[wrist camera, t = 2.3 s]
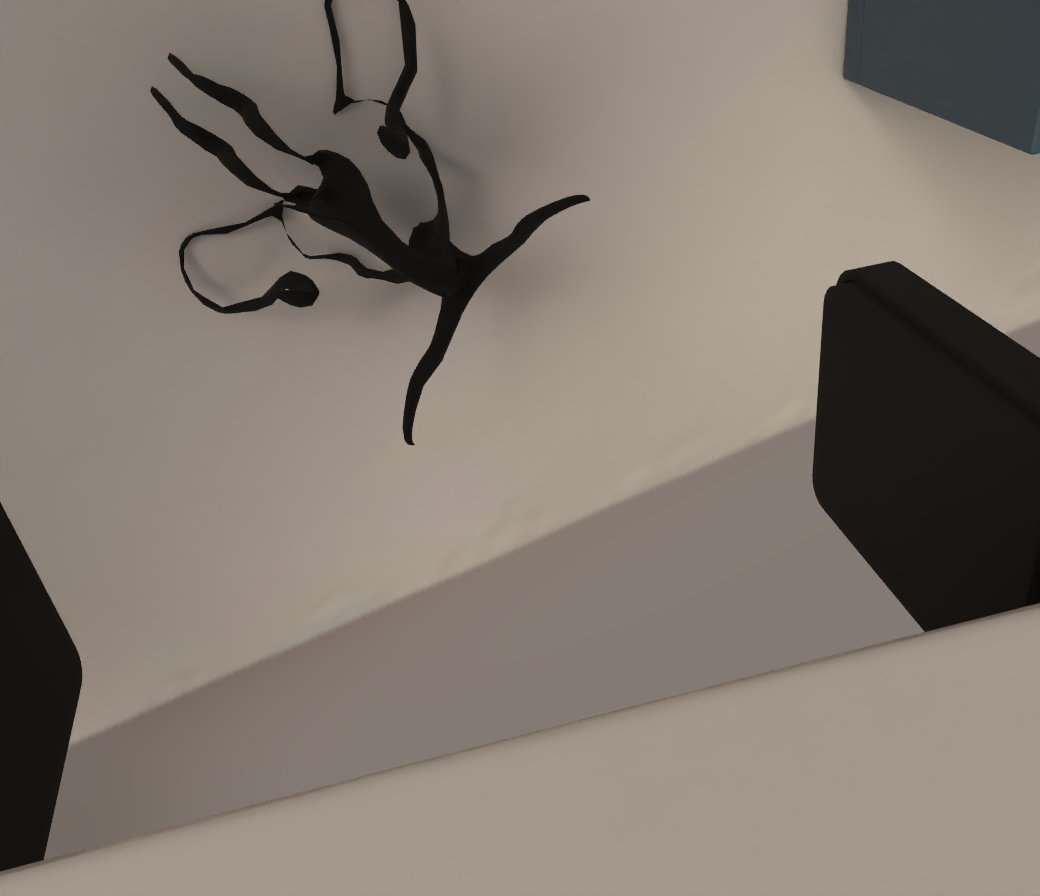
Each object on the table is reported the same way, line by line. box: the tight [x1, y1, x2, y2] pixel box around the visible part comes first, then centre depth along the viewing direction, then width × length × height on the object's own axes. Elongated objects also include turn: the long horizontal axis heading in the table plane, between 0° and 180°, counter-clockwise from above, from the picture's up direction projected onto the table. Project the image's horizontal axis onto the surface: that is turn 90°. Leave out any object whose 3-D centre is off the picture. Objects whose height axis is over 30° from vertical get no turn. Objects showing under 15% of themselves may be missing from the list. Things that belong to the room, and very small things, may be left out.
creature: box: [150, 0, 590, 445], centre depth 19 cm, size 8×5×8 cm
